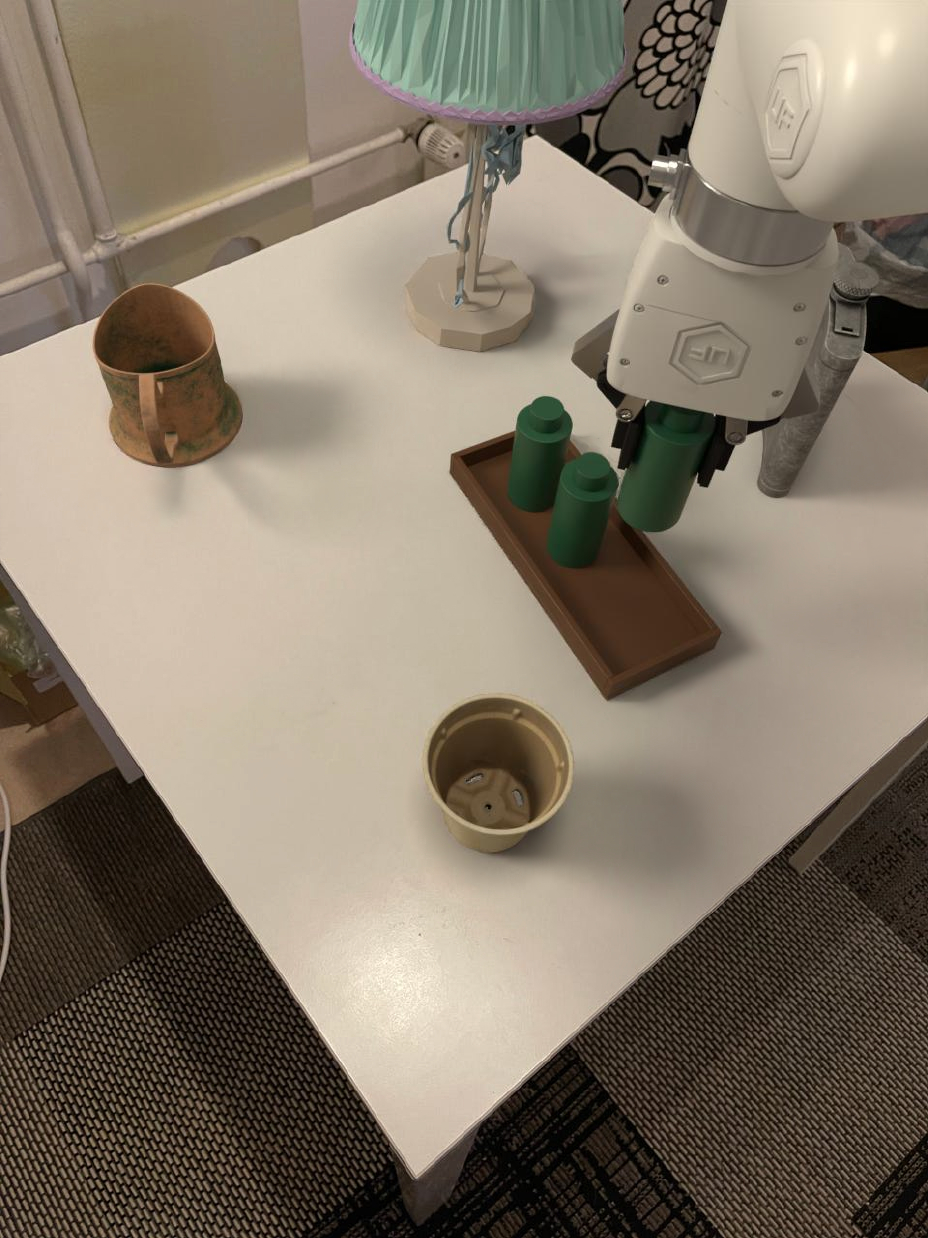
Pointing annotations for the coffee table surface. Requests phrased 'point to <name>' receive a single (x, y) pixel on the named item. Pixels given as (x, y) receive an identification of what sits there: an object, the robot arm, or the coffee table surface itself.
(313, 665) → the coffee table surface
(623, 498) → the bottle
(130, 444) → the mug
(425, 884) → the coffee table surface
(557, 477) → the bottle far
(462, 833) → the flower pot
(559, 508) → the bottle mid
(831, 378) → the flask
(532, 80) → the table lamp
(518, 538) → the tray
